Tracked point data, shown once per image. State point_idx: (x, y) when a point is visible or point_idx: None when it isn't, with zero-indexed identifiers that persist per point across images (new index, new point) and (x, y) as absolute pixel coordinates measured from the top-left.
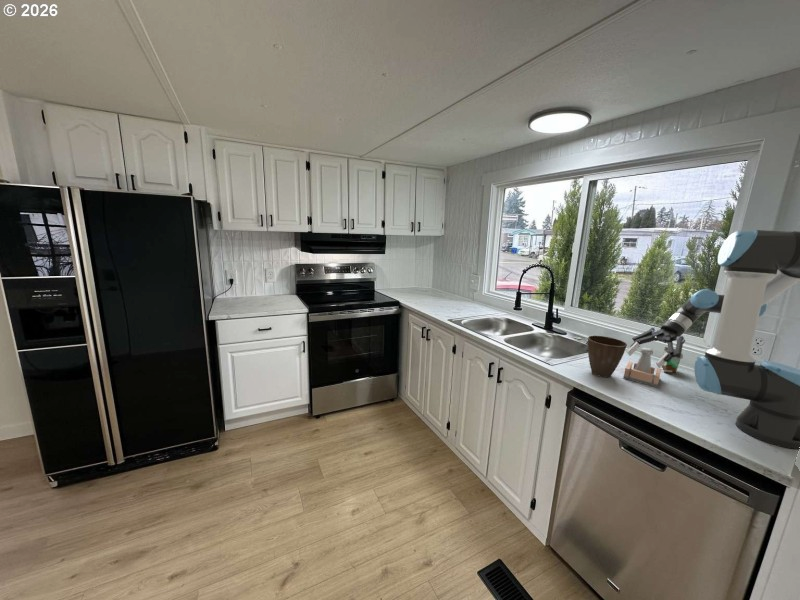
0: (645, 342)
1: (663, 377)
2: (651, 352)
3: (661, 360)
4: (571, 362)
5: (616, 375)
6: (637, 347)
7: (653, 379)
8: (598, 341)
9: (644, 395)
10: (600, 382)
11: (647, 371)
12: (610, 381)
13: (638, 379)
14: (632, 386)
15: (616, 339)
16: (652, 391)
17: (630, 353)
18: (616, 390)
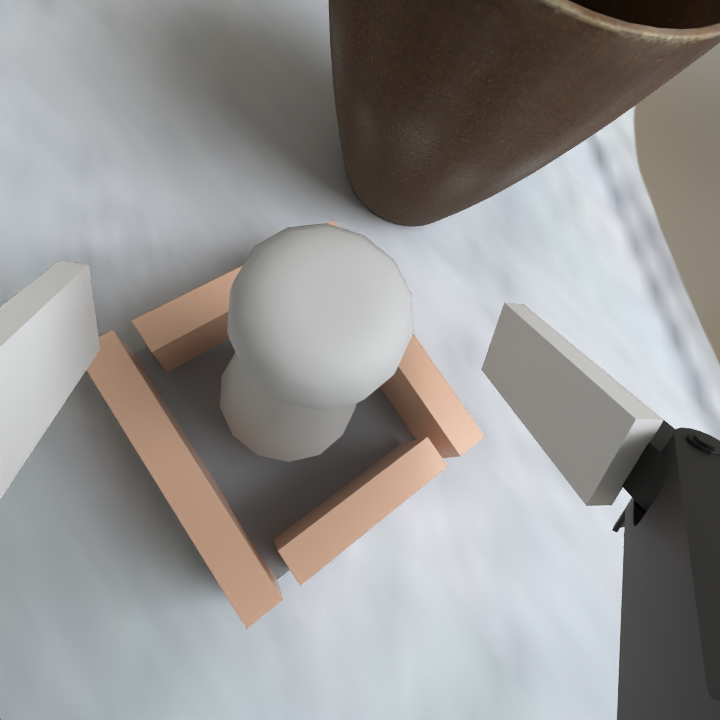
0: (628, 586)
1: (263, 687)
2: (231, 301)
3: (20, 302)
4: (583, 159)
5: None
6: (562, 447)
7: (200, 444)
8: (688, 27)
9: (39, 131)
10: (287, 53)
11: (227, 366)
12: (287, 124)
13: None
14: (183, 192)
15: (661, 28)
16: (66, 255)
17: (498, 356)
18: (164, 35)
